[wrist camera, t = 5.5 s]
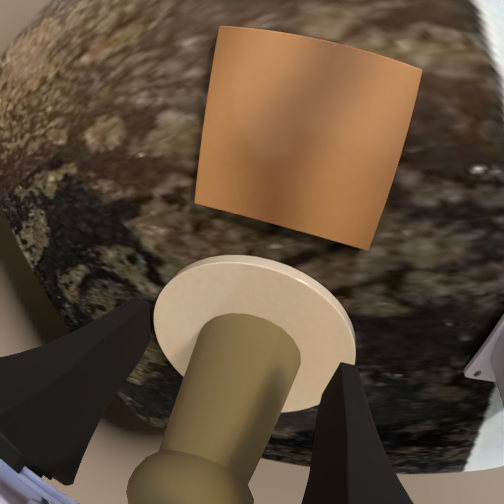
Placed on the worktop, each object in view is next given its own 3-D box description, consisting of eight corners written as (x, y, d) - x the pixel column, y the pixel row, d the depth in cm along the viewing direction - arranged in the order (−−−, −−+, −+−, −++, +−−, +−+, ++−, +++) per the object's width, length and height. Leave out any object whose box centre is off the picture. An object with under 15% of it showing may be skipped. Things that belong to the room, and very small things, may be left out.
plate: (390, 292, 15) (392, 302, 14) (317, 419, 21) (316, 428, 20) (159, 227, 16) (151, 233, 15) (161, 370, 22) (156, 378, 22)
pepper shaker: (238, 394, 20) (179, 542, 11) (178, 331, 18) (81, 489, 9) (320, 373, 17) (280, 562, 8) (261, 297, 16) (167, 519, 6)
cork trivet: (419, 70, 10) (422, 69, 9) (367, 246, 14) (368, 251, 13) (222, 27, 11) (218, 25, 10) (197, 200, 15) (193, 203, 14)
